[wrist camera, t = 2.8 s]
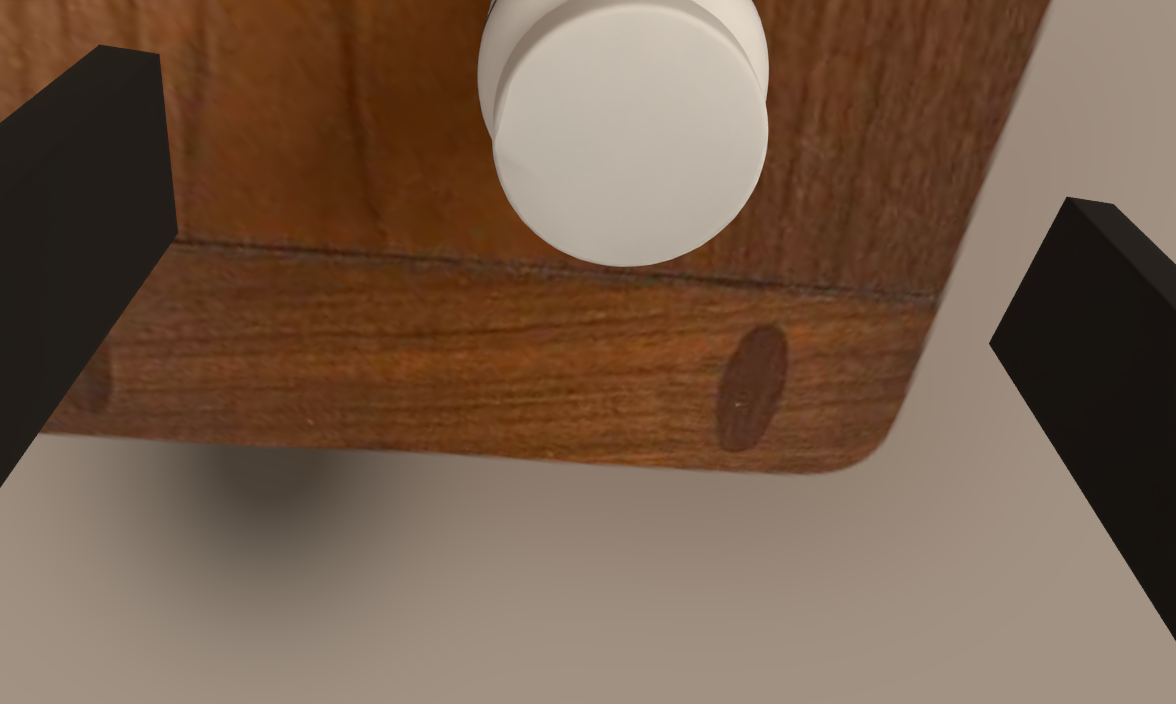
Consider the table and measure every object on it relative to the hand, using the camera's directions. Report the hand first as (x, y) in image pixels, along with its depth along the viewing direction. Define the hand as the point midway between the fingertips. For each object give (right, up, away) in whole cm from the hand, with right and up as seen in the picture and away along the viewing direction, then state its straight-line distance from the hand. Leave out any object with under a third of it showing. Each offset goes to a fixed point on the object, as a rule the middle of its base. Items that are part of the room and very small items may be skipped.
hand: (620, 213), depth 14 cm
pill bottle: (0, +7, +10) cm, 12 cm away
